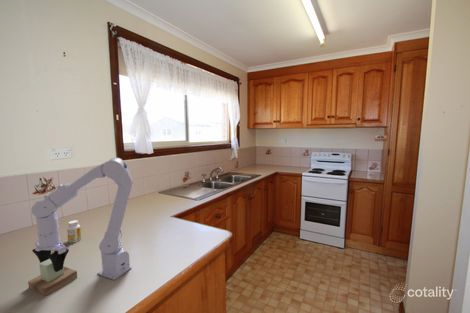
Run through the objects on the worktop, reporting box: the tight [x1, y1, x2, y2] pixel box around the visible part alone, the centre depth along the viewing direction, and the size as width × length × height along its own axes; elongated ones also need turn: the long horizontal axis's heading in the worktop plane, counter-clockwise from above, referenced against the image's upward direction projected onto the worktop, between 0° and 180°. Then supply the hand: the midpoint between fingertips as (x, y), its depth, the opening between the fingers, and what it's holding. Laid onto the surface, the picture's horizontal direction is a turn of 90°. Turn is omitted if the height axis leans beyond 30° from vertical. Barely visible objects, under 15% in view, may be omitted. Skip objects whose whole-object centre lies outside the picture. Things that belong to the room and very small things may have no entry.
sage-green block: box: [38, 259, 64, 282], centre depth 78 cm, size 4×5×6 cm
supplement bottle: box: [66, 219, 82, 243], centre depth 109 cm, size 5×5×10 cm
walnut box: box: [27, 265, 78, 296], centre depth 79 cm, size 10×10×3 cm
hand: (52, 267), depth 78 cm, fingers open, 7 cm apart
